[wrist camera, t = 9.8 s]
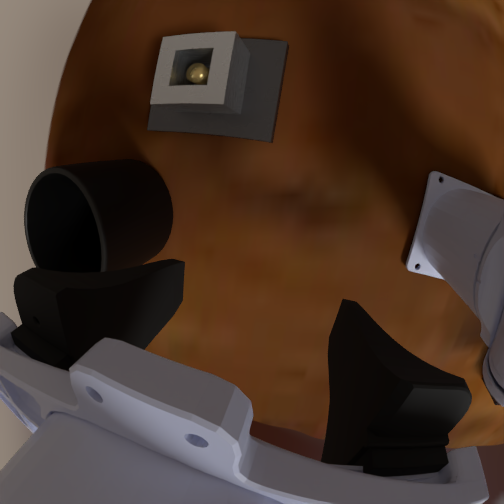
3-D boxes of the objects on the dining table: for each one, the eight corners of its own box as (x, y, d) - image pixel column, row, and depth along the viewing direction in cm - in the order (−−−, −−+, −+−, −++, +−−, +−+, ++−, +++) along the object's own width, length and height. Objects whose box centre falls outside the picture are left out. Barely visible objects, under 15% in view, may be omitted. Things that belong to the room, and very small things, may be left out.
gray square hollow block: (250, 53, 16) (235, 31, 12) (240, 114, 18) (223, 104, 14) (187, 54, 17) (163, 37, 13) (177, 111, 19) (150, 104, 15)
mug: (88, 142, 22) (15, 146, 14) (189, 178, 21) (117, 193, 13) (74, 227, 26) (10, 254, 17) (161, 276, 25) (100, 327, 16)
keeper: (288, 46, 16) (282, 23, 13) (272, 142, 19) (263, 138, 15) (170, 45, 18) (145, 29, 14) (153, 130, 20) (125, 127, 17)
